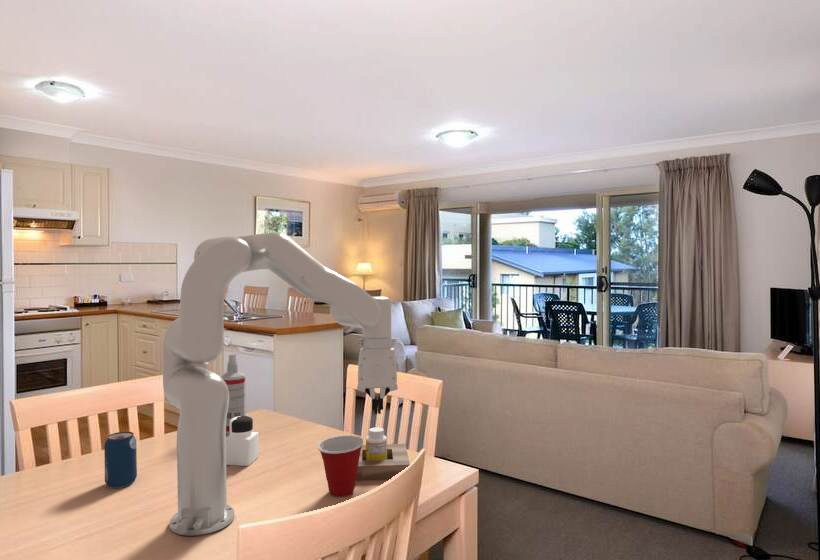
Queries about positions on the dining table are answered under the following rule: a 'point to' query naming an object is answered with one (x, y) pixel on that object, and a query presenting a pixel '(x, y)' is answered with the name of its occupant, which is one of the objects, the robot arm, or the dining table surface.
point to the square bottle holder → (383, 463)
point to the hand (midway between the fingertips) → (377, 412)
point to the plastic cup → (341, 462)
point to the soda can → (120, 459)
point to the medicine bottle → (242, 442)
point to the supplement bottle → (376, 444)
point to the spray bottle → (234, 391)
